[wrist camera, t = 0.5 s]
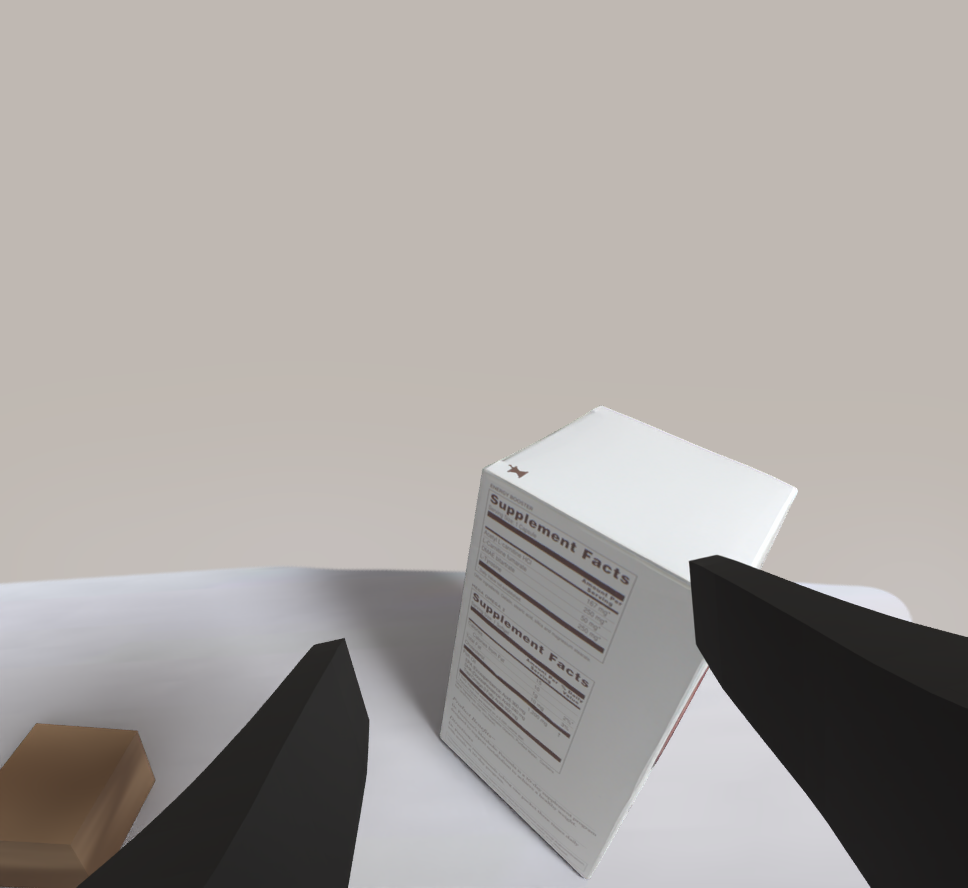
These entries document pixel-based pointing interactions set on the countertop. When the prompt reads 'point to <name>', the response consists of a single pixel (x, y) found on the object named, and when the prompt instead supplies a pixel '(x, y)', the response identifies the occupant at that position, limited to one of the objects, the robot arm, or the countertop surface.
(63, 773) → the walnut block
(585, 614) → the supplement box
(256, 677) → the countertop surface
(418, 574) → the countertop surface
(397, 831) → the countertop surface
